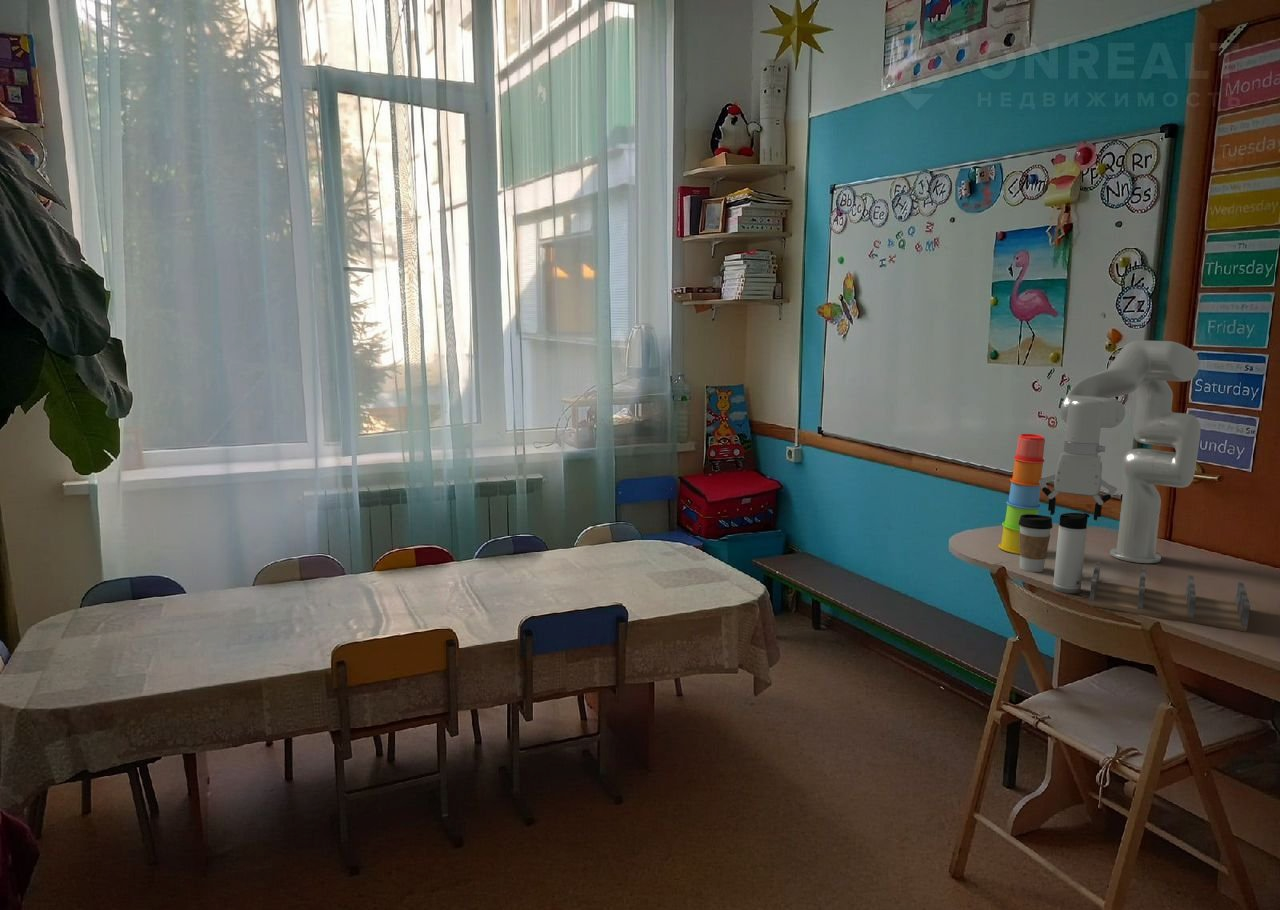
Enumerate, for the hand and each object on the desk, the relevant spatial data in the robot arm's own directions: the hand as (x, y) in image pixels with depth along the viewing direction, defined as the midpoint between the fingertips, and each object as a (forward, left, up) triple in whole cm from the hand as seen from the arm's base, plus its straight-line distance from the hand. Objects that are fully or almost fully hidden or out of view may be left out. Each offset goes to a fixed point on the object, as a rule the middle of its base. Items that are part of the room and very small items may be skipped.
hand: (1073, 516), depth 208 cm
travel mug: (0, 0, -19) cm, 19 cm away
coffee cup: (-14, -10, -20) cm, 26 cm away
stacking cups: (-32, -16, -20) cm, 41 cm away
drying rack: (+1, +21, -19) cm, 29 cm away
